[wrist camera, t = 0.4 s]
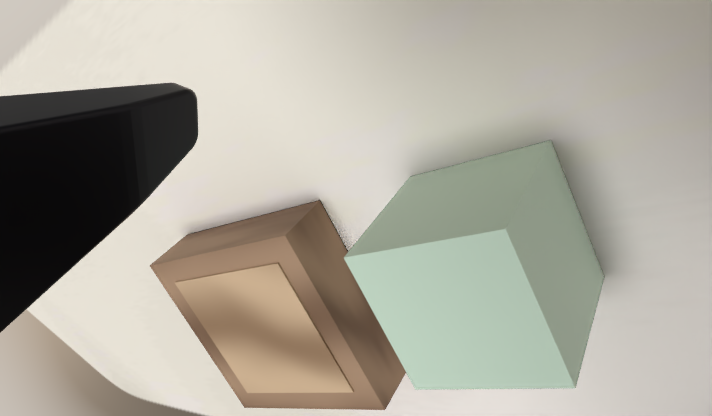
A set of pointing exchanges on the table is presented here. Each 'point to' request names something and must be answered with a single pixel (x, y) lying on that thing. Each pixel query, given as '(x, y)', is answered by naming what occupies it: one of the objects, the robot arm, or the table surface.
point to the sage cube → (483, 274)
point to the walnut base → (282, 312)
